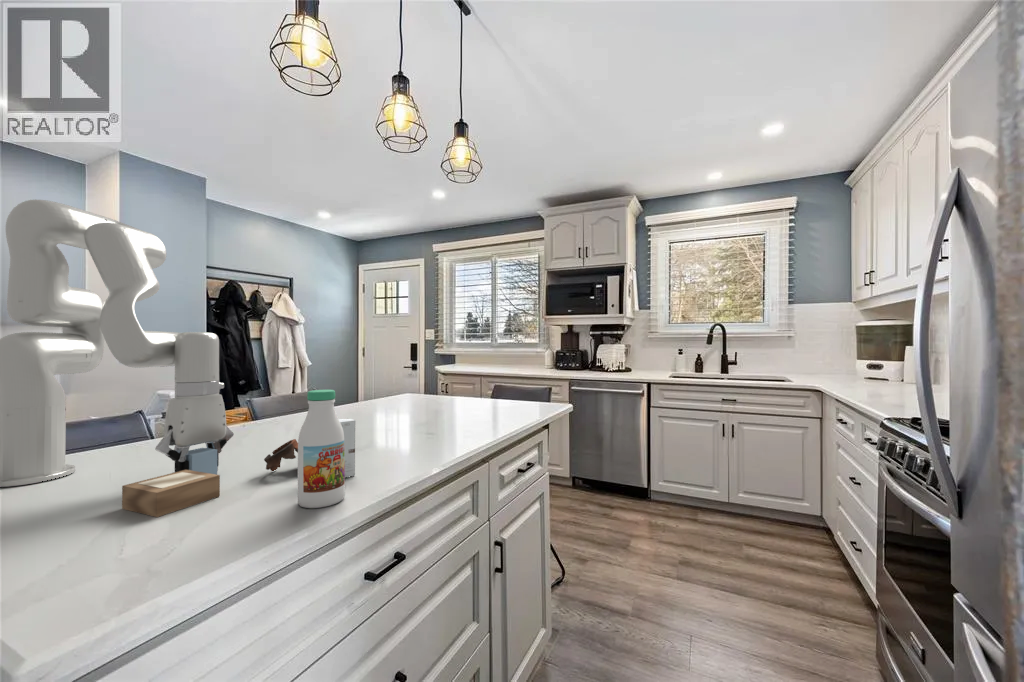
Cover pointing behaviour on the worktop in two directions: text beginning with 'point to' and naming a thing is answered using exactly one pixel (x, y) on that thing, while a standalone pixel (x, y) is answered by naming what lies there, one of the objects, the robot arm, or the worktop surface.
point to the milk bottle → (321, 453)
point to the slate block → (203, 460)
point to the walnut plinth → (170, 492)
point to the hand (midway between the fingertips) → (197, 474)
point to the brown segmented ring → (281, 454)
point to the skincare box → (349, 445)
